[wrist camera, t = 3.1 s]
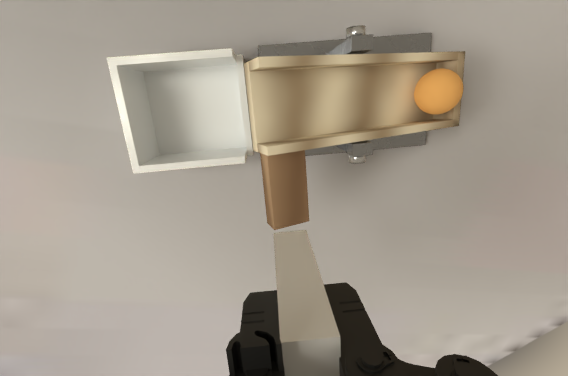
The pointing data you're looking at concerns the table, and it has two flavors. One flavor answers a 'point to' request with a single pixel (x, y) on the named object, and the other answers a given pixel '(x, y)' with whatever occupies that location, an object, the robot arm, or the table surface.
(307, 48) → the stand
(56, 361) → the table surface
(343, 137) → the lever
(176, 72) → the white open box
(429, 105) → the ball
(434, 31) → the table surface
